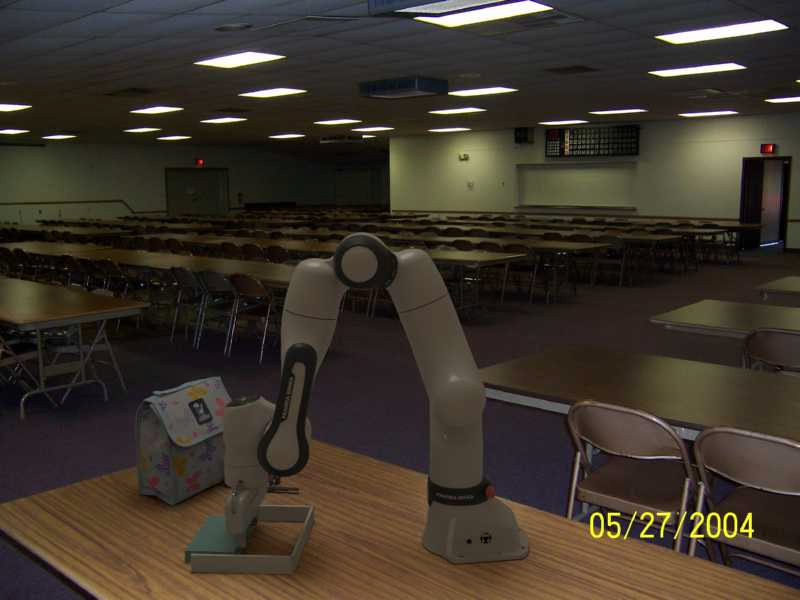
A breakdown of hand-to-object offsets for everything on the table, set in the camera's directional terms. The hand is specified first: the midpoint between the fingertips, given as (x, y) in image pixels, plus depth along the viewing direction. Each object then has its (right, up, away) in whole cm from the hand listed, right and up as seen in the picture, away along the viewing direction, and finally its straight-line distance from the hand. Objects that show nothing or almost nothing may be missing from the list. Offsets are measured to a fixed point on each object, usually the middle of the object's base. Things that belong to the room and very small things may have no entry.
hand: (248, 535), depth 151 cm
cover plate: (-6, -3, +1) cm, 6 cm away
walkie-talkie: (-2, +2, +31) cm, 31 cm away
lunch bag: (-21, +2, +30) cm, 37 cm away
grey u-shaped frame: (+2, -2, 0) cm, 3 cm away
